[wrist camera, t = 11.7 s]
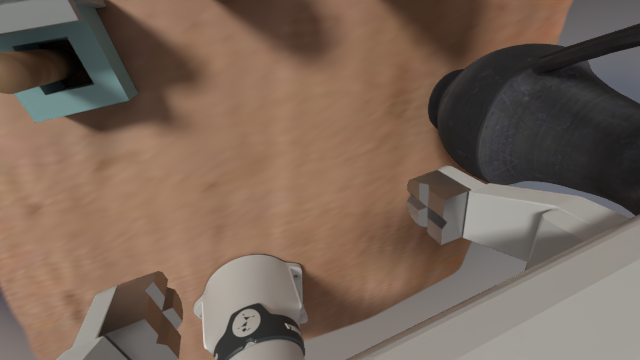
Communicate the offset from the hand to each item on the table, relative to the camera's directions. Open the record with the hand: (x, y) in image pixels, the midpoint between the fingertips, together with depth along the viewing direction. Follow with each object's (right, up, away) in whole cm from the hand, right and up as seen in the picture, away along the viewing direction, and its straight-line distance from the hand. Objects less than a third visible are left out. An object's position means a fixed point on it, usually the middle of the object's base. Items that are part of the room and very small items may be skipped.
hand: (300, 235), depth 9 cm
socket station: (-24, +13, +18) cm, 33 cm away
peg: (-24, +13, +18) cm, 33 cm away
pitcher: (+21, +16, +35) cm, 44 cm away
